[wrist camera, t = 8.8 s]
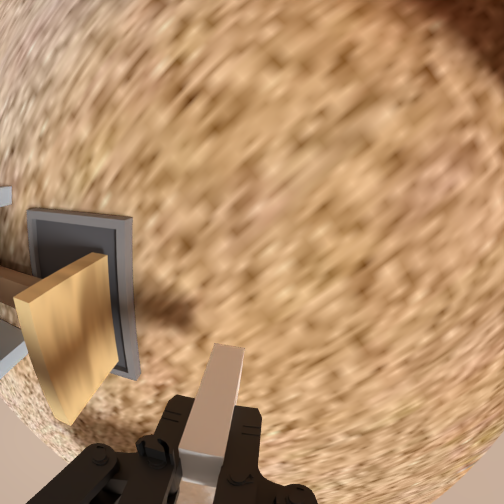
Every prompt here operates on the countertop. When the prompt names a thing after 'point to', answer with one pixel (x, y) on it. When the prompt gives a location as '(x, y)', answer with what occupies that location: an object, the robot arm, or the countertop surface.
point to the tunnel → (4, 334)
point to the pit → (79, 245)
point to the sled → (66, 330)
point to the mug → (195, 493)
